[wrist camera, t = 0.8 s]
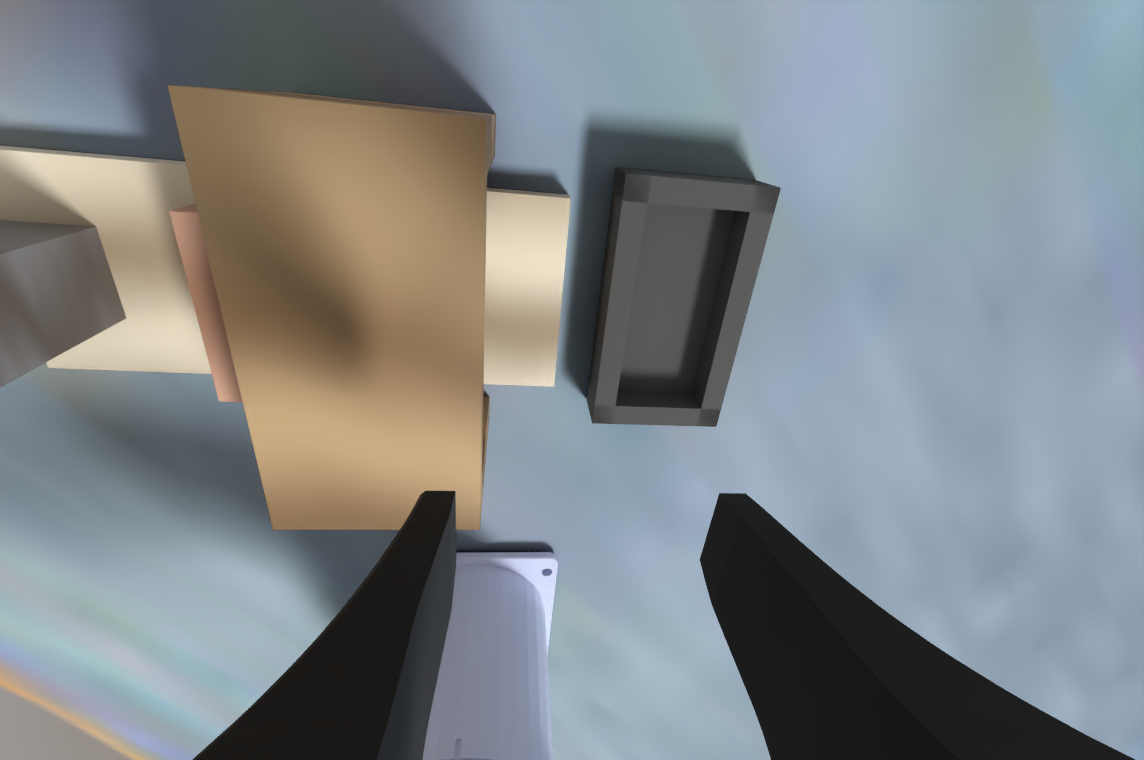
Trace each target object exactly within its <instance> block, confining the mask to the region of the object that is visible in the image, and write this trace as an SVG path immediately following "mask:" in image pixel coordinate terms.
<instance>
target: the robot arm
mask: <svg viewBox="0 0 1144 760" xmlns="http://www.w3.org/2000/svg"><path fill="white" fill-rule="evenodd" d="M700 562H701V566H702V570H703V574H704V578H705V582H706V585H707V589H708V592H709V596H710V600H711V603H712V606H713V608H714V611H715V614H716V616H717V619H718V621H719V624H720V626H721V629H722V631H723V634H724V636H725V639H726V641H727V644H728V646H729V648H730V651H731V653H732V656H733V658H734V661H735V663H736V665H737V668H738V670H739V673H740V675H741V678H742V680H743V683H744V685H745V687H746V690H747V692H748V695H749V697H750V700H751V702H752V704H753V707H754V710H755V712H756V715H757V718H758V721H759V723H760V726H761V729H762V731H763V735H764V738H765V741H766V744H767V748H768V751H769V754H770V757H771V760H1135V759H1133V758H1131V757H1129V756H1127V755H1125V754H1123V753H1121V752H1119V751H1117V750H1115V749H1113V748H1111V747H1109V746H1107V745H1105V744H1103V743H1101V742H1099V741H1097V740H1095V739H1093V738H1091V737H1089V736H1087V735H1085V734H1083V733H1081V732H1079V731H1078V730H1076V729H1074V728H1072V727H1070V726H1069V725H1067V724H1065V723H1063V722H1061V721H1059V720H1058V719H1056V718H1054V717H1052V716H1050V715H1049V714H1047V713H1045V712H1043V711H1041V710H1039V709H1038V708H1036V707H1034V706H1032V705H1030V704H1029V703H1027V702H1025V701H1024V700H1022V699H1020V698H1018V697H1017V696H1015V695H1013V694H1011V693H1010V692H1008V691H1006V690H1005V689H1003V688H1001V687H999V686H998V685H996V684H995V683H993V682H991V681H990V680H988V679H986V678H985V677H983V676H982V675H980V674H978V673H977V672H975V671H974V670H972V669H970V668H969V667H967V666H965V665H964V664H962V663H961V662H959V661H957V660H956V659H954V658H953V657H951V656H950V655H948V654H947V653H945V652H944V651H942V650H940V649H939V648H937V647H936V646H934V645H933V644H931V643H930V642H929V641H927V640H926V639H924V638H923V637H921V636H920V635H919V634H917V633H916V632H914V631H913V630H911V629H910V628H909V627H907V626H906V625H904V624H903V623H901V622H900V621H899V620H897V619H896V618H894V617H893V616H892V615H890V614H889V613H888V612H886V611H885V610H883V609H882V608H881V607H879V606H878V605H877V604H875V603H874V602H873V601H872V600H870V599H869V598H868V597H867V596H865V595H864V594H863V593H861V592H860V591H859V590H858V589H856V588H855V587H854V586H853V585H851V584H850V583H849V582H847V581H846V580H845V579H844V578H843V577H841V576H840V575H839V574H838V573H837V572H835V571H834V570H833V569H832V568H831V567H829V566H828V565H827V564H826V563H825V562H823V561H822V560H821V559H820V558H819V557H818V556H816V555H815V554H814V553H813V552H812V551H811V550H809V549H808V548H807V547H806V546H805V545H804V544H803V543H801V542H800V541H799V540H798V539H797V538H796V537H795V536H794V535H792V534H791V533H790V532H789V531H788V530H787V529H786V528H784V527H783V526H782V525H781V524H780V523H779V522H778V521H777V520H776V519H774V518H773V517H772V516H771V515H770V514H769V513H768V512H766V511H765V510H764V509H763V508H762V507H761V506H760V505H758V504H757V503H756V502H755V501H754V500H753V499H751V498H750V497H749V496H748V495H746V494H730V493H719V497H718V500H717V503H716V507H715V510H714V514H713V517H712V520H711V524H710V527H709V530H708V534H707V537H706V541H705V544H704V547H703V551H702V554H701V558H700ZM557 567H558V561H557V556H556V555H555V554H553V553H551V552H484V553H456V492H455V491H424V492H423V493H422V494H421V495H420V496H419V498H418V500H417V502H416V504H415V506H414V507H413V509H412V511H411V513H410V514H409V516H408V518H407V519H406V521H405V523H404V524H403V526H402V527H401V529H400V531H399V532H398V534H397V535H396V537H395V538H394V540H393V541H392V543H391V544H390V546H389V547H388V548H387V550H386V551H385V553H384V554H383V556H382V557H381V558H380V560H379V561H378V563H377V564H376V566H375V567H374V568H373V570H372V571H371V573H370V574H369V575H368V577H367V578H366V579H365V580H364V582H363V583H362V584H361V585H360V587H359V588H358V589H357V591H356V592H355V593H354V594H353V596H352V597H351V598H350V599H349V601H348V602H347V603H346V605H345V606H344V607H343V608H342V610H341V611H340V612H339V613H338V614H337V616H336V617H335V618H334V619H333V620H332V621H331V623H330V624H329V625H328V626H327V627H326V628H325V630H324V631H323V632H322V633H321V634H320V635H319V636H318V638H317V639H316V640H315V641H314V642H313V643H312V644H311V645H310V646H309V647H308V649H307V650H306V651H305V652H304V653H303V654H302V655H301V656H300V657H299V658H298V659H297V660H296V662H295V663H294V664H293V665H292V666H291V667H290V668H289V669H288V670H287V671H286V672H285V673H284V674H283V675H282V676H281V677H280V678H279V679H278V680H277V681H276V682H275V683H274V684H273V685H272V686H271V687H270V688H269V689H268V690H267V691H266V692H265V693H264V694H263V695H262V696H261V697H260V698H259V699H258V700H257V701H256V702H255V703H254V704H253V705H252V706H251V707H250V708H249V709H248V710H247V711H246V712H245V713H244V714H242V715H241V716H240V717H239V718H238V719H237V720H236V721H235V722H234V723H233V724H232V725H231V726H229V727H228V728H227V729H226V730H225V731H224V732H223V733H222V734H221V735H219V736H218V737H217V738H216V739H215V740H214V741H213V742H212V743H211V744H209V745H208V746H207V747H206V748H205V749H204V750H203V751H202V752H200V753H199V754H198V755H197V756H196V757H195V758H194V759H193V760H553V746H552V729H551V711H550V694H549V677H548V660H547V654H548V645H549V636H550V628H551V619H552V610H553V602H554V593H555V584H556V576H557ZM544 569H548V570H544Z"/></svg>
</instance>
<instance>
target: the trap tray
mask: <svg viewBox="0 0 1144 760" xmlns="http://www.w3.org/2000/svg"><path fill="white" fill-rule="evenodd" d="M779 192H780V188H779V187H776V186H773V185H770V184H766V183H763V182H760V181H756V180H746V179H735V178H724V177H714V176H703V175H693V174H682V173H672V172H661V171H651V170H640V169H630V168H619V167H616V170H615V178H614V186H613V194H612V202H611V210H610V218H609V226H608V234H607V241H606V249H605V257H604V265H603V273H602V281H601V289H600V297H599V305H598V313H597V321H596V329H595V337H594V345H593V353H592V361H591V369H590V377H589V385H588V393H587V403H588V407H589V411H590V416H591V420H592V423H604V424H640V425H676V426H712V427H716V425H717V421H718V418H719V414H720V410H721V407H722V403H723V399H724V396H725V392H726V388H727V384H728V381H729V377H730V373H731V370H732V366H733V362H734V359H735V355H736V351H737V347H738V344H739V340H740V336H741V333H742V329H743V325H744V322H745V318H746V314H747V310H748V307H749V303H750V299H751V296H752V292H753V288H754V285H755V281H756V277H757V273H758V270H759V266H760V262H761V259H762V255H763V251H764V248H765V244H766V240H767V236H768V233H769V229H770V225H771V222H772V218H773V214H774V211H775V207H776V203H777V199H778V196H779Z"/></svg>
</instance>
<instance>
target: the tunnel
mask: <svg viewBox="0 0 1144 760" xmlns="http://www.w3.org/2000/svg"><path fill="white" fill-rule="evenodd" d="M167 86H168V90H169V94H170V98H171V103H172V107H173V111H174V115H175V119H176V124H177V128H178V132H179V136H180V140H181V145H182V149H183V153H184V157H185V161H186V166H187V170H188V174H189V178H190V182H191V187H192V191H193V195H194V199H195V203H196V208H197V212H198V216H199V220H200V224H201V229H202V233H203V237H204V241H205V245H206V250H207V254H208V258H209V262H210V266H211V271H212V275H213V279H214V283H215V288H216V292H217V296H218V300H219V304H220V309H221V313H222V317H223V321H224V325H225V330H226V334H227V338H228V342H229V346H230V351H231V355H232V359H233V363H234V367H235V372H236V376H237V380H238V384H239V388H240V393H241V397H242V401H243V405H244V409H245V414H246V418H247V422H248V426H249V430H250V435H251V439H252V443H253V447H254V451H255V456H256V460H257V464H258V468H259V472H260V477H261V481H262V485H263V489H264V493H265V498H266V502H267V506H268V510H269V514H270V519H271V523H272V527H273V530H400V529H401V527H402V526H403V524H404V523H405V521H406V519H407V518H408V516H409V514H410V513H411V511H412V509H413V507H414V506H415V504H416V502H417V500H418V498H419V496H420V495H421V494H422V493H423V492H424V491H455V492H456V530H480V520H481V508H482V496H483V484H484V472H485V460H486V448H487V437H488V425H489V396H483V389H484V330H485V270H486V210H487V174H488V171H489V169H490V166H491V164H492V162H493V159H494V157H495V130H496V114H490V113H481V112H471V111H462V110H452V109H443V108H433V107H424V106H414V105H405V104H395V103H386V102H376V101H367V100H357V99H348V98H338V97H329V96H319V95H310V94H301V93H290V92H273V91H257V90H240V89H223V88H206V87H190V86H173V85H167Z"/></svg>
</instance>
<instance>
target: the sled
mask: <svg viewBox="0 0 1144 760" xmlns="http://www.w3.org/2000/svg"><path fill="white" fill-rule="evenodd" d="M570 202H571V198H570V196H569V195H566V194H554V193H543V192H531V191H520V190H508V189H497V188H487V210H486V270H485V330H484V384H499V385H526V386H553V387H554V380H555V369H556V358H557V347H558V336H559V324H560V313H561V302H562V291H563V280H564V269H565V258H566V247H567V236H568V224H569V213H570ZM44 363H46V364H47V366H48V368H64V369H91V370H118V371H145V372H173V373H200V374H212V377H213V380H214V384H215V388H216V392H217V396H218V399H219V401H223V402H243V401H242V397H241V393H240V388H239V384H238V380H237V376H236V372H235V367H234V363H233V359H232V355H231V351H230V346H229V342H228V338H227V334H226V330H225V325H224V321H223V317H222V313H221V309H220V304H219V300H218V296H217V292H216V288H215V283H214V279H213V275H212V271H211V266H210V262H209V258H208V254H207V250H206V245H205V241H204V237H203V233H202V229H201V224H200V220H199V216H198V212H197V208H196V203H195V199H194V195H193V191H192V187H191V182H190V178H189V174H188V170H187V166H186V162H185V161H173V160H162V159H150V158H139V157H127V156H115V155H104V154H92V153H81V152H69V151H58V150H46V149H35V148H23V147H12V146H0V387H2V386H3V385H5V384H7V383H9V382H11V381H13V380H14V379H16V378H18V377H20V376H22V375H24V374H25V373H27V372H29V371H31V370H33V369H35V368H36V367H38V366H40V365H42V364H44Z"/></svg>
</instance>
